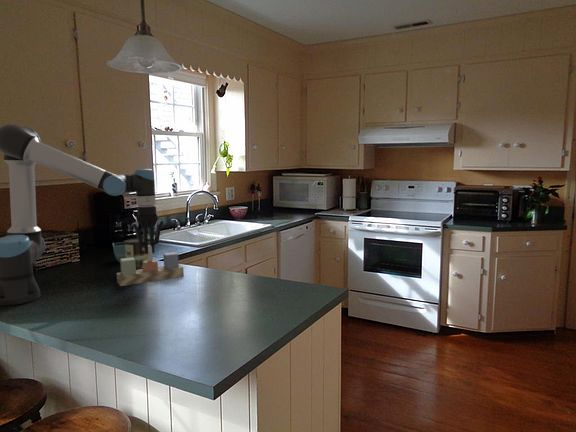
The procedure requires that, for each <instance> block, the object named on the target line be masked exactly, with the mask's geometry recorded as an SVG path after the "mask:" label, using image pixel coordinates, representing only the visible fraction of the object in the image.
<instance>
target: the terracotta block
mask: <svg viewBox="0 0 576 432" xmlns="http://www.w3.org/2000/svg"><path fill="white" fill-rule="evenodd" d="M158 267H159V266H158V260H156V259H153V261H150V262H149V261H148V260H146V261H143V271H144V272H152V271H158Z"/></svg>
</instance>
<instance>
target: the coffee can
mask: <svg viewBox="0 0 576 432" xmlns="http://www.w3.org/2000/svg"><path fill="white" fill-rule="evenodd" d="M142 240H143V242H144V239H143V238H142ZM123 242H124V243H125V254H126V258H131V257H133V258H134V259H135V264H136V270H141V269H143V261H146V260H148V259H147V254H145V250H144V246H142V245H140V244H139V241H138V238H130V239H127V240H126V239H125V240H124V241H123Z"/></svg>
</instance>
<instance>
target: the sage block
mask: <svg viewBox="0 0 576 432" xmlns="http://www.w3.org/2000/svg"><path fill="white" fill-rule="evenodd" d="M119 264H120V272H121V274H122V275H123V276H125V275H132V274H136V264H135V259H134V258H133V257H131V258H123V259H120V262H119Z"/></svg>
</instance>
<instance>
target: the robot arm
mask: <svg viewBox="0 0 576 432" xmlns="http://www.w3.org/2000/svg"><path fill="white" fill-rule="evenodd" d="M0 152H1V153H2V154H3V161H4V163H6V164H7V165H8V177H9V178H8V179H9V197H10V200H9V202H10V220H11V221H10V222H11V226H10V227H9V228H8V229H7V231H6V233H7V234H6V235H5V236H2V237H0V306H1V307H2V306H16V305H22V304H26V303H30V302H32V301H35V300H37V299H39V298H40V297H41V296H42V295H41V289H40V288H39V285H38V283H37V281H36V278H35V277H34V271H33V263H34V262H36V261H38V260H39V259H40V258H41V256H42V255H43V254H44V251H45V250H46V243H45V239H44V238H43V237H42V229H41V227H39V226H38V225H37V223H38V222H37V199H36V176H35V175H36V173H35V166H36V165H37V164H38V165H40V166H43V167H45V168H48V169H50V170H53V171H55V172H58V173H60V174H62V175H65V176H67V177H70V178H72V179H75V180H77V181H79V182H82V183H85V184H87V185H89V186H92V187H93V188H96V189H99V190H101V191H103V192H105V193H106V194H108V195H110V196H112V197H116V196H120V195H122V194H125V193H135V194H136V196H135V197H136V206H137V208H136V209H137V219H136V221H135V222H133V223H131V226H132V227H133V229H134V231H135V234H136V237H137V238H136V239H138V241H139V244H140V245H142V246H144V250H145V254H147V259H148V261H149V262H150V261H153V260H154V259H153V254H154V253H155V245H158V244H159V241H160V236H161V230H162V226H163V225H164V221H163V220H160V219H159V217H158V215H157V206H156V204H157V200H156V187H155V186H156V185H155V175H154V174H155V172H154V170H153V169H151V168H144V169H143V168H139V169H135V170H134V173H130V174H124V173H123V174H120V173H119V174H115V173H113V172H110V171H108V170H105V169H104V168H101V167H99V166H96V165H95V164H92V163H90V162H87V161H84V159H80V158H78V157H76V156H73V155H71V154H68V153H67V152H64V151H62V150H60V149H57V148H55V147H52V146H50V145H48V144H46V143H44V142H42V140H41V138H40V136H39V134H38V133H37V132H36V131H35V130H33V129H32V128H30V127H28V126H23V125H18V124H12V123H8V124H4V125H1V126H0ZM139 225H140V226H141V228H142V234H141V232H140V228H139V227H140V226H139ZM155 225H156V231H155V236H154V230H155V229H154V227H155ZM148 233H149V236H148ZM142 239H144V242H143V240H142Z"/></svg>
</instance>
